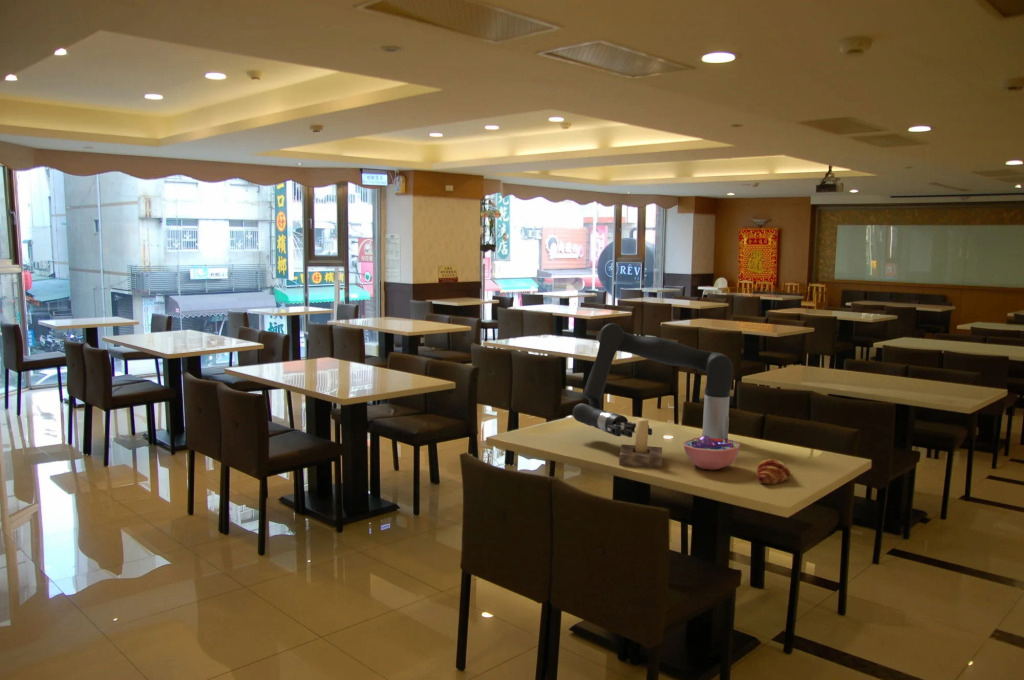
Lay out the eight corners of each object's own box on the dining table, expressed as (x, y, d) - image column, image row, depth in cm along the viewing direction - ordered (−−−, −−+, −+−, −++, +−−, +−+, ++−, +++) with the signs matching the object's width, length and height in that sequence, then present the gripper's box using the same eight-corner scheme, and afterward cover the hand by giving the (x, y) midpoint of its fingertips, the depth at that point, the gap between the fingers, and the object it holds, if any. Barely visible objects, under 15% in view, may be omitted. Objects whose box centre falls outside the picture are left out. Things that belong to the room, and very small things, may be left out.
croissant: (774, 480, 253) (764, 457, 254) (803, 471, 247) (792, 448, 249) (752, 494, 236) (742, 469, 238) (782, 485, 230) (771, 460, 232)
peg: (646, 459, 261) (648, 419, 260) (646, 462, 257) (648, 422, 256) (634, 458, 262) (636, 418, 260) (634, 461, 258) (636, 421, 256)
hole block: (661, 457, 265) (662, 447, 265) (661, 467, 251) (662, 457, 251) (621, 454, 268) (621, 444, 267) (619, 464, 254) (619, 454, 254)
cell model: (751, 470, 251) (753, 437, 250) (706, 478, 241) (708, 443, 240) (714, 458, 266) (716, 426, 264) (670, 464, 256) (672, 431, 254)
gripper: (596, 414, 269) (625, 424, 255) (629, 411, 276) (658, 420, 262) (596, 435, 270) (624, 446, 256) (628, 431, 277) (657, 442, 263)
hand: (641, 433), depth 259 cm, fingers open, 8 cm apart
